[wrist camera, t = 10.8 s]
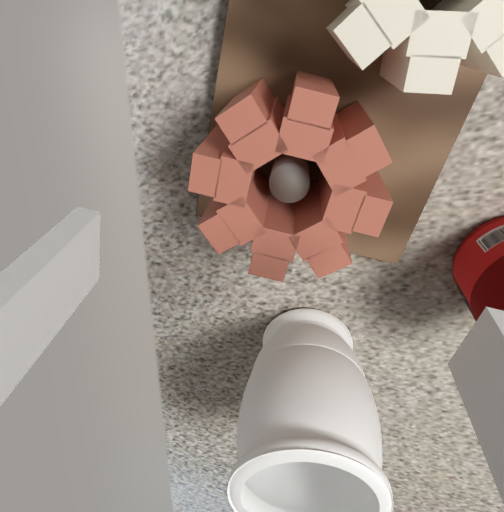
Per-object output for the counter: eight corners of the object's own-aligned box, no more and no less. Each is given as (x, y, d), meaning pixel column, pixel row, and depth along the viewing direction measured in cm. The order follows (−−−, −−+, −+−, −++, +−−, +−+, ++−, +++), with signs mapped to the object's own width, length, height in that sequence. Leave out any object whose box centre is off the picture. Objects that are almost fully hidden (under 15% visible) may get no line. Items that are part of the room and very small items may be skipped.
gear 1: (228, 53, 25) (205, 64, 19) (399, 96, 26) (428, 119, 20) (202, 210, 31) (178, 256, 25) (342, 244, 31) (352, 298, 25)
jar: (233, 316, 38) (196, 469, 25) (340, 281, 35) (362, 436, 22) (279, 392, 42) (268, 557, 29) (378, 368, 39) (415, 540, 26)
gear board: (268, -223, 20) (255, -315, 15) (576, -144, 21) (678, -204, 15) (199, 207, 33) (178, 246, 27) (393, 254, 33) (411, 302, 27)
